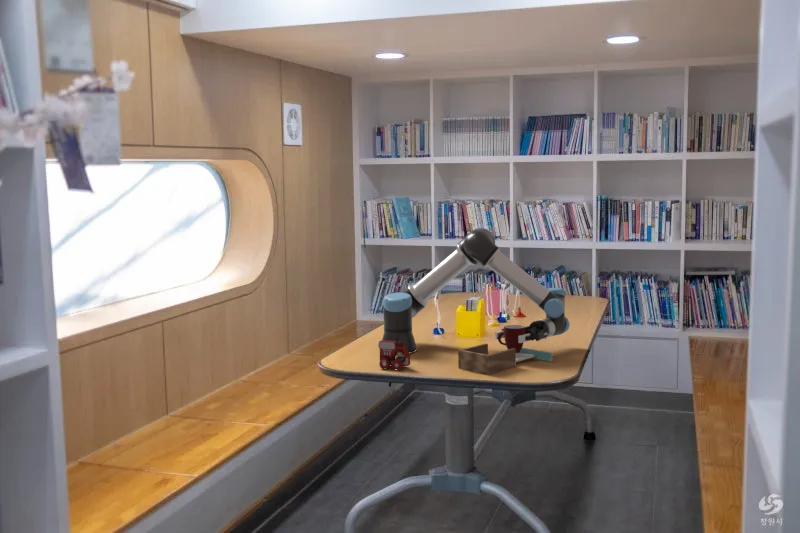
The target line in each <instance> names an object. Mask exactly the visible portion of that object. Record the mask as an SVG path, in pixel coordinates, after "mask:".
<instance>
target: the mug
mask: <svg viewBox="0 0 800 533" xmlns="http://www.w3.org/2000/svg"><path fill="white" fill-rule="evenodd" d="M525 327H526V326H524V325H521V324H508V325H507V324H506V325H504V326H503V329H504V332H501V333H500V334H499V336H498V339H497V341H498V342H499V344H501V346H506V350H508V349H512V348H514V349H516V353H519V352H520V351H521V349H522V348H524V342H523V343H518V336H520V335H524V334H525ZM502 335H504V337H505V338H504V342H502V338H501V336H502Z"/></svg>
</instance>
